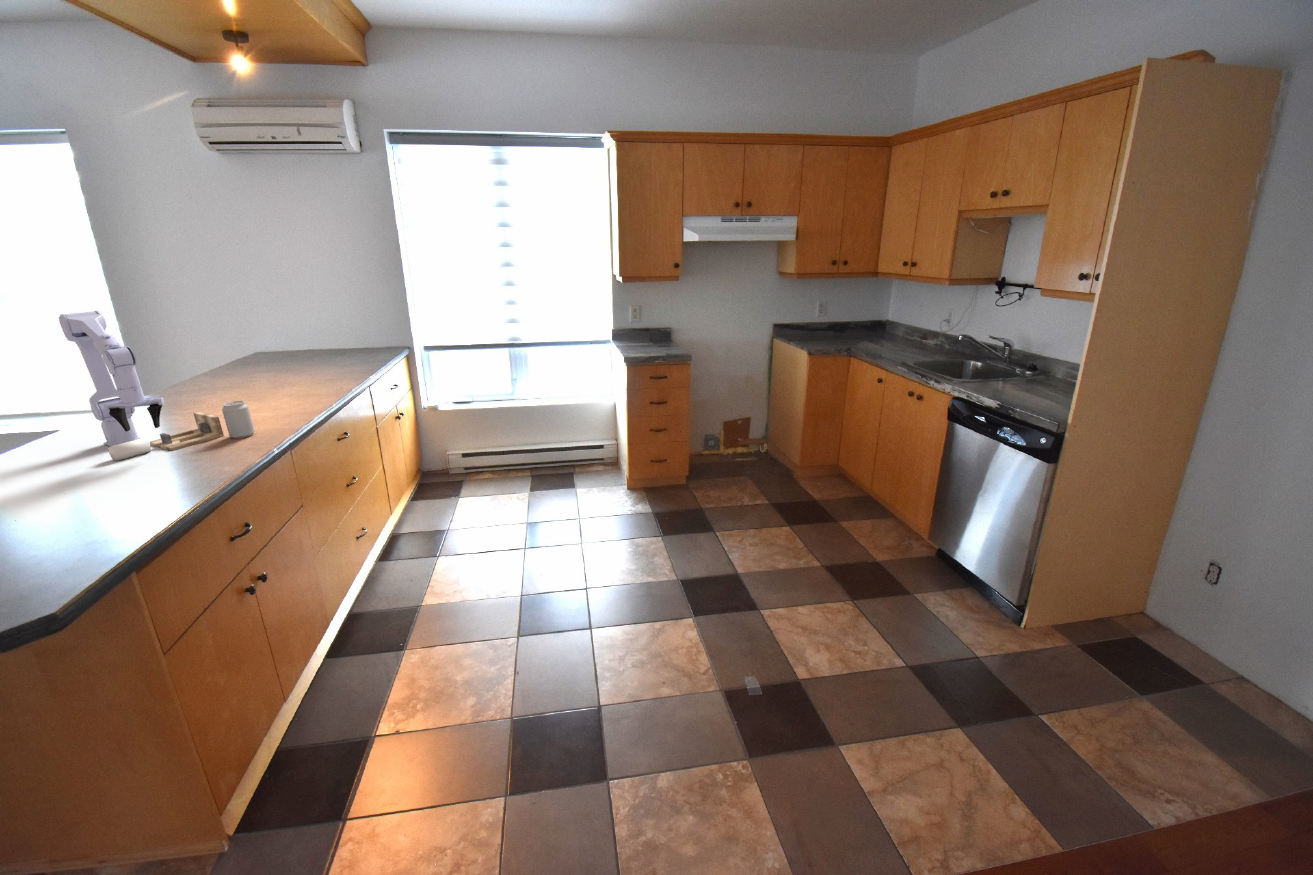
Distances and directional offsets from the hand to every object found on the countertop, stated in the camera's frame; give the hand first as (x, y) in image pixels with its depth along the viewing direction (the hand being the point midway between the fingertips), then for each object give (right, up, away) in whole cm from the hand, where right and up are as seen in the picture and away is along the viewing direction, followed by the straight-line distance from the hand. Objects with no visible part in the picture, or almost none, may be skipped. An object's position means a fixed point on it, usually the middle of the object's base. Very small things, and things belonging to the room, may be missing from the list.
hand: (142, 428), depth 188 cm
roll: (-7, -9, +4) cm, 11 cm away
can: (+18, -2, +20) cm, 27 cm away
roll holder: (+1, -4, +17) cm, 17 cm away
